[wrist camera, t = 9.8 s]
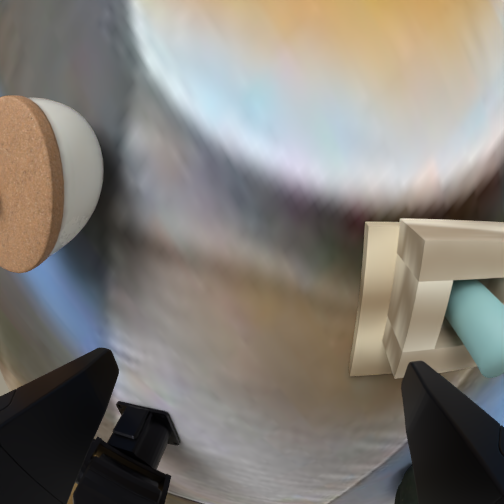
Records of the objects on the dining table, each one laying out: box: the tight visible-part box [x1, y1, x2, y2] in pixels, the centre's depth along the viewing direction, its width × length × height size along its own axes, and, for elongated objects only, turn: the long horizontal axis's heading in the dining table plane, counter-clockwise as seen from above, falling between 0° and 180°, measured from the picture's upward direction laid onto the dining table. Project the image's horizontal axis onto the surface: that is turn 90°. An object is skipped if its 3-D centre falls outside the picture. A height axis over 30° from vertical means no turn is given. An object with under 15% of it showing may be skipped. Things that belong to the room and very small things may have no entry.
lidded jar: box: [0, 96, 104, 273], centre depth 15 cm, size 11×11×9 cm
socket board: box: [349, 219, 504, 379], centre depth 17 cm, size 12×11×5 cm
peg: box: [445, 279, 504, 378], centre depth 13 cm, size 3×3×8 cm
